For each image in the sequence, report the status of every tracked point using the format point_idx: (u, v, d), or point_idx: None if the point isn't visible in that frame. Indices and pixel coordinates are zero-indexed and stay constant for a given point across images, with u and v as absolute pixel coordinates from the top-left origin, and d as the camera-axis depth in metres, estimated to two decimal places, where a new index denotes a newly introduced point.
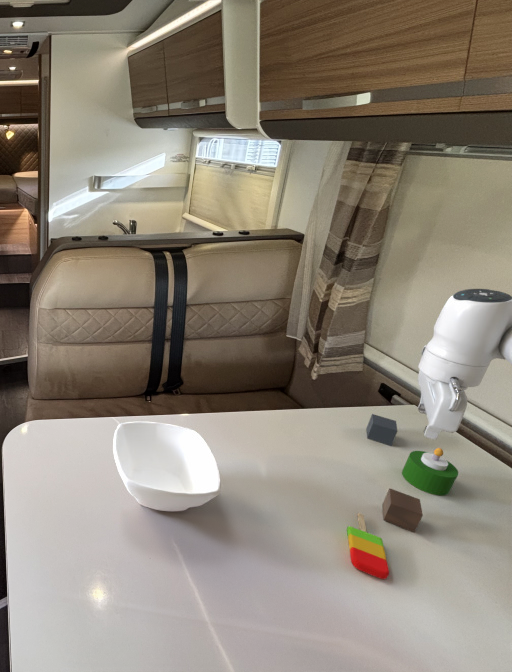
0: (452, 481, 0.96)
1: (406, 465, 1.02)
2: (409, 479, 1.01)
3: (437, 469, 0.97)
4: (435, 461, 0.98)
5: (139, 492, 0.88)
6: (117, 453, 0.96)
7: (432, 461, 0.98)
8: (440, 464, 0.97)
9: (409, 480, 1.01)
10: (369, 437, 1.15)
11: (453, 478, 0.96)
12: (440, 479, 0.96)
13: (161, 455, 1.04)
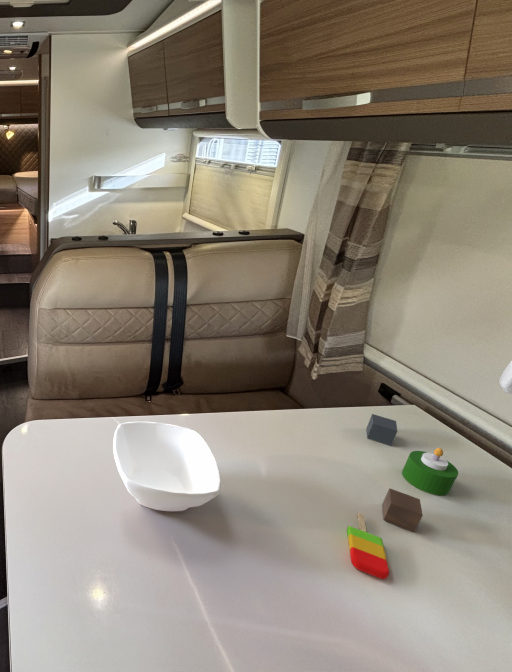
0: (452, 481, 0.96)
1: (406, 465, 1.02)
2: (409, 479, 1.01)
3: (437, 469, 0.97)
4: (435, 461, 0.98)
5: (139, 492, 0.88)
6: (117, 453, 0.96)
7: (432, 461, 0.98)
8: (440, 464, 0.97)
9: (409, 480, 1.01)
10: (369, 437, 1.15)
11: (453, 478, 0.96)
12: (440, 479, 0.96)
13: (161, 455, 1.04)
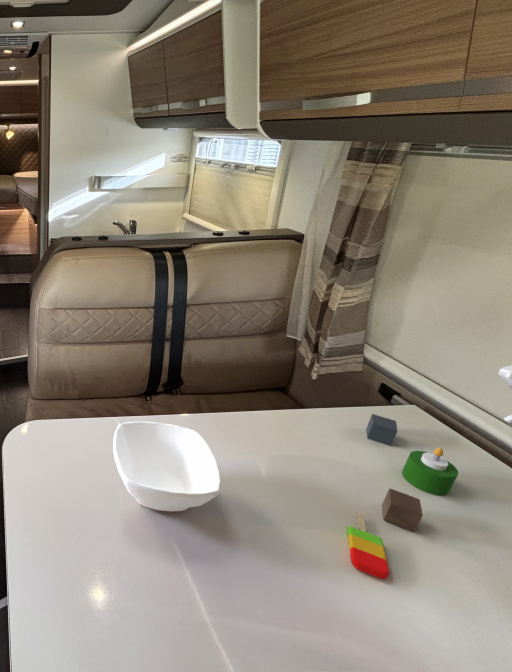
0: (452, 481, 0.96)
1: (406, 465, 1.02)
2: (409, 479, 1.01)
3: (437, 469, 0.97)
4: (435, 461, 0.98)
5: (139, 492, 0.88)
6: (117, 453, 0.96)
7: (432, 461, 0.98)
8: (440, 464, 0.97)
9: (409, 480, 1.01)
10: (369, 437, 1.15)
11: (453, 478, 0.96)
12: (440, 479, 0.96)
13: (161, 455, 1.04)
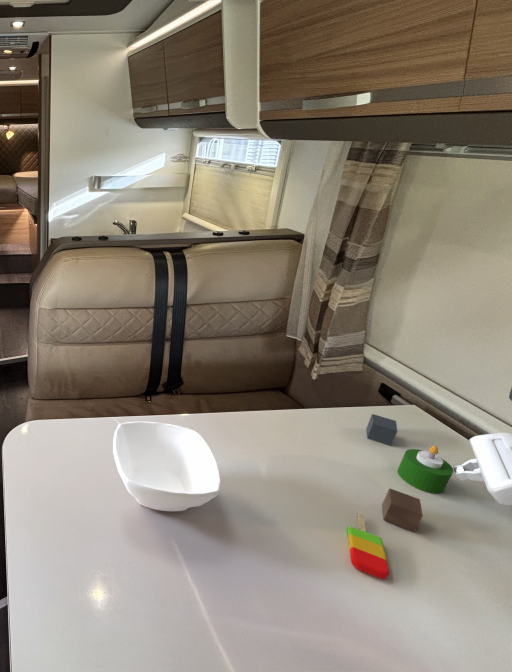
0: (447, 479, 0.97)
1: (402, 463, 1.03)
2: (404, 477, 1.01)
3: (432, 467, 0.98)
4: (430, 459, 0.99)
5: (139, 492, 0.88)
6: (117, 453, 0.96)
7: (427, 459, 0.99)
8: (435, 462, 0.98)
9: (404, 477, 1.02)
10: (369, 437, 1.15)
11: (448, 476, 0.96)
12: (435, 477, 0.97)
13: (161, 455, 1.04)
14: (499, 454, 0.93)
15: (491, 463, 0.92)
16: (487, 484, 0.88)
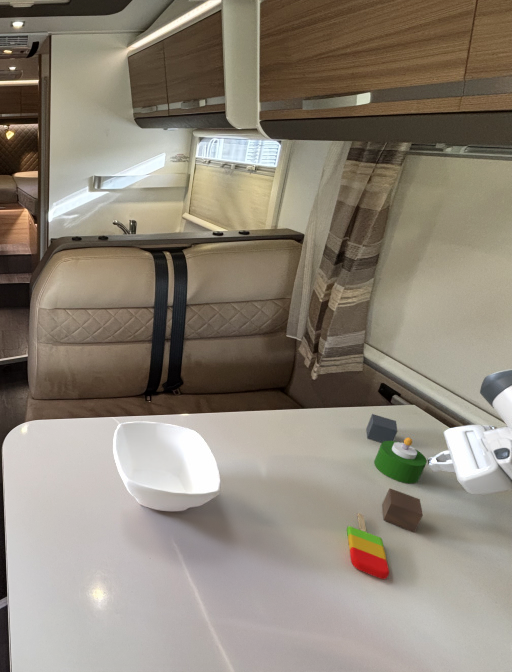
0: (419, 469, 0.99)
1: (378, 454, 1.06)
2: (379, 467, 1.04)
3: (405, 458, 1.01)
4: (404, 450, 1.02)
5: (139, 492, 0.88)
6: (117, 453, 0.96)
7: (401, 450, 1.02)
8: (409, 453, 1.01)
9: (379, 467, 1.05)
10: (369, 437, 1.15)
11: (420, 466, 0.99)
12: (407, 467, 1.00)
13: (161, 455, 1.04)
14: (470, 445, 0.95)
15: (462, 454, 0.94)
16: (457, 474, 0.91)
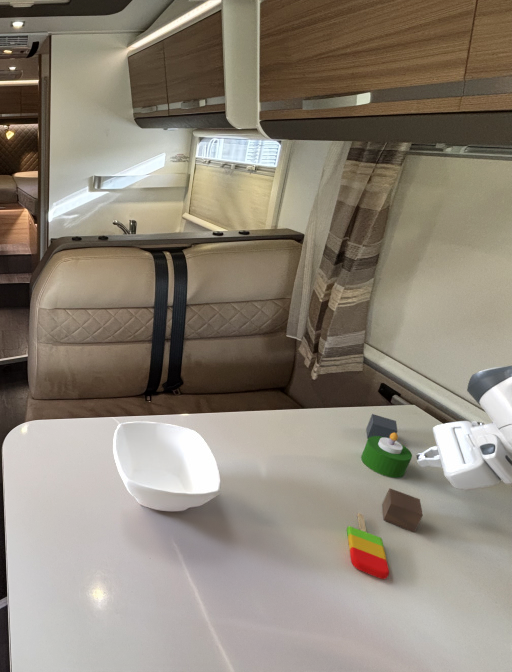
0: (404, 464, 1.01)
1: (364, 448, 1.07)
2: (365, 461, 1.06)
3: (391, 452, 1.02)
4: (390, 445, 1.03)
5: (139, 492, 0.88)
6: (117, 453, 0.96)
7: (387, 445, 1.03)
8: (394, 448, 1.02)
9: (365, 462, 1.06)
10: None
11: (405, 461, 1.01)
12: (392, 461, 1.01)
13: (161, 455, 1.04)
14: (458, 441, 0.97)
15: (450, 450, 0.96)
16: (444, 469, 0.92)
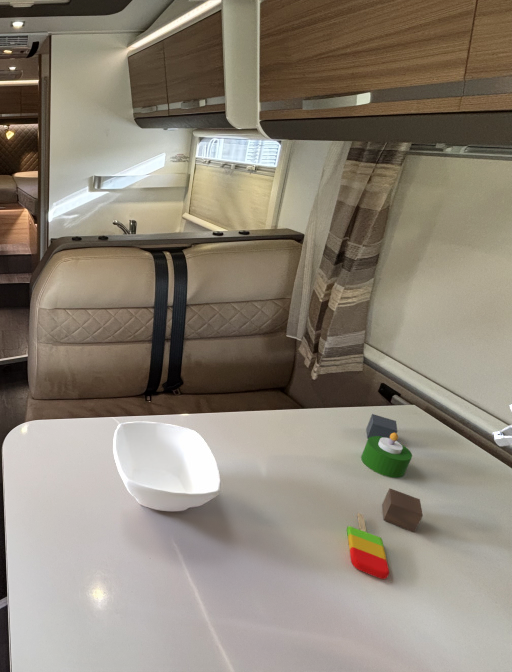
0: (404, 464, 1.01)
1: (364, 448, 1.07)
2: (365, 461, 1.06)
3: (391, 452, 1.02)
4: (390, 445, 1.03)
5: (139, 492, 0.88)
6: (117, 453, 0.96)
7: (387, 445, 1.03)
8: (394, 448, 1.02)
9: (365, 462, 1.06)
10: None
11: (405, 461, 1.01)
12: (392, 461, 1.01)
13: (161, 455, 1.04)
14: None
15: None
16: None
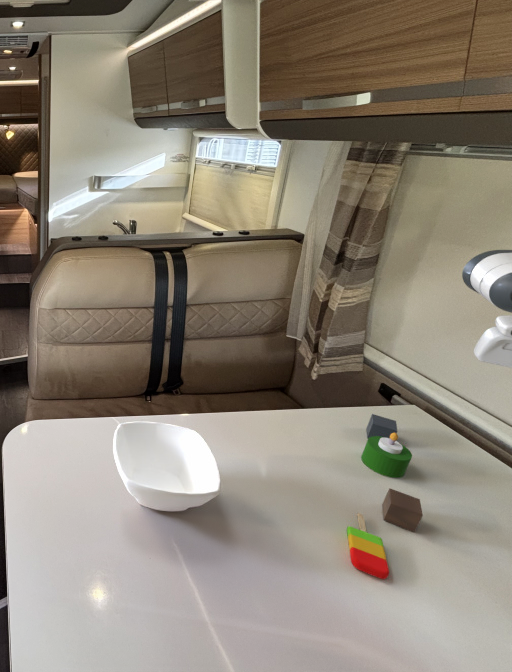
0: (404, 464, 1.01)
1: (364, 448, 1.07)
2: (365, 461, 1.06)
3: (391, 452, 1.02)
4: (390, 445, 1.03)
5: (139, 492, 0.88)
6: (117, 453, 0.96)
7: (387, 445, 1.03)
8: (394, 448, 1.02)
9: (365, 462, 1.06)
10: None
11: (405, 461, 1.01)
12: (392, 461, 1.01)
13: (161, 455, 1.04)
14: None
15: None
16: None
